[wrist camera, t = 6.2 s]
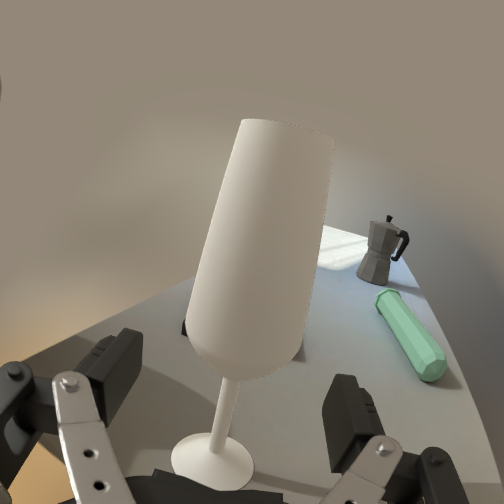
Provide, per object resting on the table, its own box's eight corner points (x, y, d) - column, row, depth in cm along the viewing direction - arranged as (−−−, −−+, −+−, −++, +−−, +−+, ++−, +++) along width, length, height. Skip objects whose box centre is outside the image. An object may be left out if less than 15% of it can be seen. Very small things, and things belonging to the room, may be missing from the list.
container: (456, 350, 35) (400, 284, 59) (419, 360, 35) (373, 290, 59) (451, 383, 36) (400, 311, 60) (415, 394, 37) (374, 316, 61)
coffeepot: (345, 269, 87) (362, 207, 83) (368, 271, 91) (385, 212, 86) (380, 292, 74) (401, 221, 69) (403, 292, 77) (424, 226, 73)
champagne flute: (234, 507, 17) (349, 131, 11) (154, 467, 19) (195, 108, 13) (265, 452, 23) (357, 153, 17) (196, 421, 25) (251, 131, 19)
